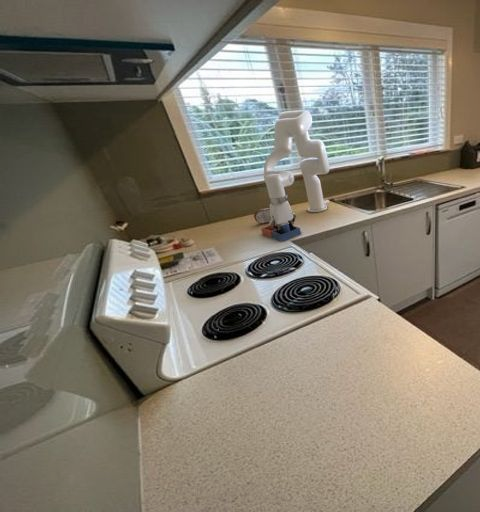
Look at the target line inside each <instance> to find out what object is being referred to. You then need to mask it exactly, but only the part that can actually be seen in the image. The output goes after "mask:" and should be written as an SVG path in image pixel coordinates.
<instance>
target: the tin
mask: <svg viewBox="0 0 480 512" xmlns="http://www.w3.org/2000/svg"><path fill="white" fill-rule="evenodd" d="M253 218H254V220H255V221H256V222H257V223H258V224H261V225H263V224H264V225H265V224H269V222H270V221H271V215H270V206H269V207H264V208H259V209H257V210H255V212H254V214H253Z"/></svg>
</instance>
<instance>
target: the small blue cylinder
mask: <svg viewBox="0 0 480 512" xmlns="http://www.w3.org/2000/svg"><path fill="white" fill-rule="evenodd" d="M280 228H281V230H282V234H284V233H287V232H289V231H290V227H289V223H288V222H285V223H282V224H281V226H280Z"/></svg>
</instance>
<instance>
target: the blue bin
mask: <svg viewBox="0 0 480 512" xmlns="http://www.w3.org/2000/svg"><path fill="white" fill-rule="evenodd" d="M293 227H294V230H292V231H289V232H287V233H284V234H279V233H277V230H274V231H272V232H271V234H272V237H273V238H272V239H275V240H278V241H280V242H286V241H287V240H291V239H293V238H294V237H298V236H300V235H301V234H302V230H301V227H299V226H295V225H293ZM280 229H281V228H280Z"/></svg>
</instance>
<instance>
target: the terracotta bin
mask: <svg viewBox="0 0 480 512" xmlns="http://www.w3.org/2000/svg"><path fill="white" fill-rule="evenodd" d="M260 230H261V233H262V235H263V236H266V237H268V238H271V239H274V238H273V237H272V234H271V232H272V231H274V230H271V226H270V225H269V224H268V225H267V226H264V227H261V228H260ZM275 230H276V229H275Z"/></svg>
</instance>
